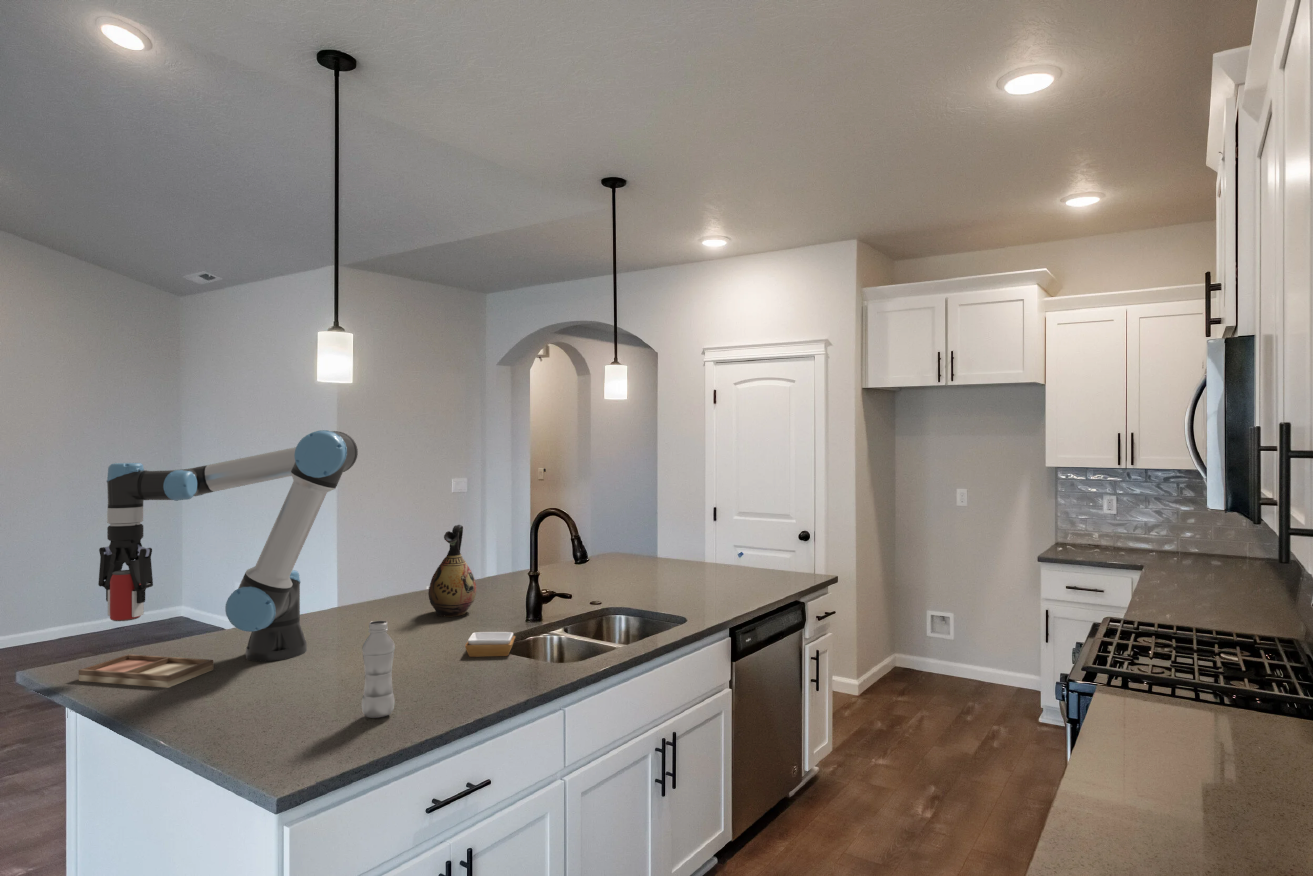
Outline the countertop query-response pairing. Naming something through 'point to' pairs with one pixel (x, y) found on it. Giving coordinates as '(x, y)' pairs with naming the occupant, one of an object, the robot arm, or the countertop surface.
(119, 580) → the beer can
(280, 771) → the countertop surface
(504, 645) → the soap dish
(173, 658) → the caddy tray
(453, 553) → the ceramic jug
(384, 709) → the plastic bottle
